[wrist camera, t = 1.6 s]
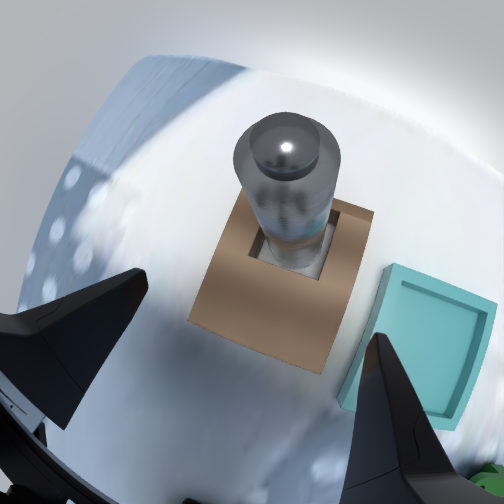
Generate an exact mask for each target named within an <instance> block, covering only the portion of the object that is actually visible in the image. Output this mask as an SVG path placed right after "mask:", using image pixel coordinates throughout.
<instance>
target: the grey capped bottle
mask: <svg viewBox="0 0 504 504" xmlns="http://www.w3.org/2000/svg"><path fill="white" fill-rule="evenodd" d="M340 162H341V154H340V149H339V145H338V143H337V141H336V139H335V137H334V136H333V134H332V133H331V132H330V131H329V130H328V129H327V128H326V127H325V126H323V125H322V124H321V123H319V122H317V121H315V120H313V119H311V118H308V117H305V116H302V115H300V114H296V113H291V112H280V113H275V114H271V115H269V116H267V117H265V118H263V119H261V120H260V121H258V122H257V123H255V124H253V125H252V126H251V127H249V128H248V129H247V130H246V131H245V132H244V133H243V135H242V136H241V137H240V139H239V140H238V142H237V144H236V147H235V150H234V156H233V164H234V169H235V172H236V174H237V177H238V179H239V181H240V183H241V185H242V187H243V189H244V192H245V194H246V196H247V198H248V200H249V202H250V204H251V207H252V209H253V211H254V213H255V215H256V217H257V219H258V222H259V224H260V226H261V228H262V230H263V233H264V235H265V237H266V239H267V241H268V243H269V246H270V248H271V250H272V252H273V254H274V256H275V258H276V260H277V261H278V262H279V263H280V264H282V265H283V266H285V267H287V268H290V269H302V268H305V267H308V266H309V265H311V264H312V263H313V262H314V261H315V260H316V259H317V257H318V256H319V253H320V250H321V246H322V242H323V238H324V234H325V230H326V226H327V222H328V218H329V213H330V209H331V205H332V200H333V196H334V191H335V187H336V182H337V177H338V172H339V167H340Z"/></svg>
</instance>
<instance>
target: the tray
mask: <svg viewBox="0 0 504 504" xmlns="http://www.w3.org/2000/svg"><path fill="white" fill-rule="evenodd" d="M496 309H497V303H494V302H492V301H490V300H487V299H485V298H483V297H480V296H478V295H475V294H473V293H471V292H468V291H466V290H463V289H461V288H458V287H456V286H453V285H451V284H448V283H446V282H443V281H441V280H438V279H436V278H433V277H431V276H428V275H425V274H423V273H420V272H418V271H415V270H412V269H410V268H407V267H404V266H402V265H399V264H396V263H392V264H391V265H389V266H388V267H386V268H385V269H384V272H383V275H382V279H381V282H380V286H379V289H378V292H377V296H376V299H375V302H374V305H373V308H372V311H371V314H370V317H369V320H368V323H367V326H366V329H365V331H364V334H363V337H362V340H361V342H360V345H359V347H358V350H357V353H356V355H355V358H354V360H353V362H352V365H351V367H350V370H349V372H348V374H347V377H346V379H345V381H344V384H343V386H342V388H341V390H340V392H339V395H338V397H337V401H338V403H339V405H340V408H342V409H345V410H349V411H353V412H356V405H357V396H358V388H359V382H360V377H361V372H362V367H363V361H364V355H365V350H366V347H367V345H368V343H369V341H370V340H371V338H372V336H373V334H374V333H375V332H381V333H385V334H386V335H387V336H388V338H389V340H390V342H391V344H392V346H393V347H394V349H395V351H396V353H397V355H398V357H399V359H400V361H401V363H402V365H403V367H404V369H405V371H406V373H407V375H408V377H409V379H410V381H411V383H412V385H413V387H414V389H415V391H416V393H417V395H418V398H419V400H420V402H421V404H422V406H423V408H424V409H423V410H424V411H425V413H426V415H427V417H428V419H429V421H430V424H431V426H432V428H434V429H441V430H449V431H455V429H456V427H457V425H458V423H459V420H460V418H461V416H462V414H463V412H464V410H465V407H466V405H467V403H468V401H469V398H470V396H471V393H472V391H473V388H474V386H475V383H476V380H477V378H478V375H479V372H480V369H481V366H482V363H483V360H484V357H485V353H486V350H487V347H488V343H489V339H490V336H491V332H492V328H493V323H494V319H495V314H496Z"/></svg>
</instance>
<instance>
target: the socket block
mask: <svg viewBox="0 0 504 504" xmlns="http://www.w3.org/2000/svg"><path fill="white" fill-rule="evenodd" d="M373 215H374V212H373V211H370V210H368V209H365V208H362V207H359V206H356V205H353V204H350V203H347V202H344V201H341V200H338V199H335V198H333V200H332V205H331V209H330V213H329V218H328V222H327V223H330V224H333V225H336V228H335V231H334V234H333V238H332V241H331V244H330V247H329V250H328V253H327V256H326V259H325V262H324V265H323V268H322V271H321V274H320V277H319V280H315V279H312V278H309V277H306V276H304V275H301V274H298V273H295V272H292V271H289V270H286V269H284V268H281V267H278V266H275V265H272V264H269V263H267V262H264V261H261V260H258V259H257V257H258V255H259V252H260V250H261V247H262V244H263V242H264V239H265V235H264V233H263V230H262V228H261V226H260V224H259V222H258V219H257V217H256V215H255V213H254V211H253V209H252V207H251V204H250V202H249V200H248V198H247V196H246V194H245V192H244V189H243V187H242V189H241V191H240V194H239V196H238V198H237V200H236V203H235V205H234V207H233V210H232V212H231V214H230V217H229V219H228V221H227V224H226V226H225V228H224V231H223V233H222V236H221V238H220V240H219V243H218V245H217V248H216V250H215V252H214V255H213V257H212V260H211V262H210V265H209V267H208V270H207V272H206V275H205V277H204V280H203V282H202V285H201V287H200V290H199V292H198V295H197V297H196V300H195V302H194V305H193V307H192V310H191V313H190V315H189V318H188V320H187V321H189V322H192V323H194V324H196V325H198V326H200V327H202V328H204V329H207V330H209V331H211V332H213V333H215V334H218V335H220V336H222V337H224V338H227V339H229V340H231V341H234V342H236V343H238V344H241V345H243V346H246V347H248V348H250V349H253V350H255V351H258V352H260V353H263V354H265V355H268V356H270V357H273V358H276V359H278V360H281V361H284V362H286V363H289V364H292V365H295V366H297V367H300V368H303V369H306V370H309V371H312V372H314V373H317V374H321V371H322V369H323V367H324V364H325V362H326V359H327V357H328V355H329V352H330V350H331V347H332V345H333V342H334V340H335V337H336V334H337V332H338V329H339V326H340V324H341V321H342V318H343V315H344V313H345V310H346V307H347V304H348V301H349V298H350V295H351V292H352V289H353V286H354V283H355V280H356V277H357V273H358V270H359V267H360V263H361V260H362V257H363V253H364V250H365V246H366V242H367V239H368V235H369V231H370V227H371V223H372V219H373Z"/></svg>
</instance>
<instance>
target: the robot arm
mask: <svg viewBox="0 0 504 504" xmlns="http://www.w3.org/2000/svg"><path fill="white" fill-rule="evenodd" d="M147 291H148V281H147V276H146V272H145V271H144V270H143V269H140V268H133V269H131V270H128V271H126V272H123V273H121V274H118V275H115V276H113V277H110V278H108V279H105V280H103V281H100V282H98V283H95V284H93V285H91V286H88V287H86V288H83V289H81V290H78V291H76V292H73V293H71V294H69V295H66V296H65V297H61V298H59V299H57V300H54V301H52V302H49V303H47V304H44V305H41V306H38V307H35V308H32V309H29V310H26V311H23V312H20V313H17V314H13V315H8V314H2V313H0V468H1V470H2V471H3V472H4V473H5V475H6V476H7V477H8V478H9V479H10V481H11V482H12V483H13V485H11V486H10V487H9V489H8V491H7V492H6V493H3V492H1V491H0V504H66V502H67V501H68V499H70V500H71V501H73V502H74V503H75V504H119V503H117V502H116V501H114V500H113V499H111V498H109V497H108V496H106V495H105V494H103V493H102V492H100V491H99V490H98V489H96V488H95V487H93V486H92V485H91V484H89V483H88V482H87V481H85V480H84V479H83V478H81V477H80V476H79V475H77V474H76V473H75V472H74V471H72V470H71V469H70V468H69V467H68V466H66V465H65V464H64V463H63V462H62V461H60V460H59V459H58V458H57V457H56V456H55V455H54V454H53V453H52V452H50V451H49V450H48V449H47V441H46V433H45V424H44V423H43V422H42V421H43V419H44V418H45V417H46V416H47V417H48V418H49V419H50V420H51V421H53V422H54V423H55V424H56V425H57V426H59V427H60V428H61V429H62V430H65V428H66V427H67V425H68V423H69V421H70V419H71V418H72V416H73V414H74V412H75V410H76V409H77V407H78V405H79V403H80V402H81V400H82V398H83V397H84V395H85V393H86V391H87V390H88V388H89V386H90V385H91V383H92V381H93V380H94V378H95V376H96V375H97V373H98V371H99V370H100V368H101V367H102V365H103V363H104V362H105V360H106V359H107V357H108V355H109V354H110V352H111V351H112V349H113V348H114V346H115V344H116V343H117V341H118V340H119V338H120V337H121V335H122V334H123V332H124V331H125V329H126V328H127V326H128V325H129V323H130V322H131V320H132V318H133V317H134V315H135V313H136V311H137V309H138V307H139V305H140V304H141V302H142V300H143V298H144V296H145V294H146V293H147ZM423 409H424V408H423V406H422V404H421V402H420V400H419V398H418V395H417V393H416V391H415V389H414V387H413V385H412V383H411V381H410V379H409V377H408V375H407V373H406V371H405V369H404V367H403V365H402V363H401V361H400V359H399V357H398V355H397V353H396V351H395V349H394V347H393V346H392V344H391V342H390V340H389V338H388V336H387V335H386V334H385V333H381V332H375V333H374V334H373V336H372V338H371V340H370V341H369V343H368V345H367V347H366V350H365V355H364V361H363V367H362V372H361V377H360V382H359V388H358V396H357V405H356V414H355V422H354V430H353V437H352V443H351V450H350V455H349V461H348V466H347V472H346V477H345V481H344V486H343V491H342V494H341V498H340V502H339V504H504V497H501V496H497V495H495V494H493V493H491V492H489V491H487V490H485V489H483V488H481V487H479V486H478V485H476V484H474V483H472V482H470V481H469V480H467V479H465V478H463V477H462V476H461V475H459V474H458V473H457V471H456V470H455V469H454V467H453V466H452V464H451V462H450V460H449V458H448V456H447V454H446V453H445V451H444V449H443V447H442V445H441V443H440V442H439V440H438V438H437V436H436V434H435V432H434V430H433V428H432V426H431V424H430V421H429V419H428V417H427V415H426V413H425V411H424V410H423ZM188 502H189V503H188ZM182 504H200V503H198V502H196V501H193V500H191V499H188V498H187V499H185V500H184V501H183V503H182Z"/></svg>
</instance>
